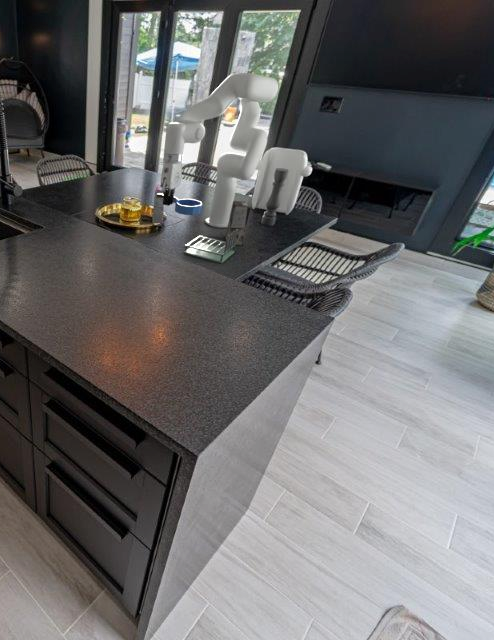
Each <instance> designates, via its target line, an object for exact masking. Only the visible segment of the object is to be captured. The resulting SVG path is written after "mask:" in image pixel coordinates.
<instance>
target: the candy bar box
mask: <svg viewBox="0 0 494 640" xmlns="http://www.w3.org/2000/svg"><path fill="white" fill-rule="evenodd" d="M155 186H156V187H155V189H154V196H153V197H154V198H153V208H152V219H151V224H152V223H154V222H155V223H160V224H158V225H156V226H155V227H162V225H163V221H164V212H165V205H163V198H160V197H156V194H157V193H160V194H163V192H162V191H161V190H162V188H161V184H156V185H155Z"/></svg>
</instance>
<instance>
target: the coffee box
mask: <svg viewBox="0 0 494 640" xmlns="http://www.w3.org/2000/svg"><path fill="white" fill-rule="evenodd" d="M251 209H252V206H251V205H250V202H248V201H243V200H234V201H233V204H232V208H231V213H230V218H229V222H228V227H226V233H225V241H226V240H227V236H228V235H229V237H230V233H232V234H233V231H235V230H236V229H238V230H237V234H236V239H235V243H234V244H236V246H237V245H238V246H242V245H243V240H244V237H245V234H246V232H245V231H246V229H247V225H248V221H249V218H250V217H249V216H250V213H251ZM234 235H235V234H234ZM231 238H232V237H231ZM233 239H234V238H233ZM228 242H229V240H228ZM230 243H231V241H230ZM232 244H233V242H232Z"/></svg>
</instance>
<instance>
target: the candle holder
mask: <svg viewBox="0 0 494 640" xmlns="http://www.w3.org/2000/svg"><path fill="white" fill-rule="evenodd" d="M288 172H289V170H288V169H283V168H276V170H275V174H274V180H275V182H273V183H272V184H273V189H272V193H271V195H270V197H269V199H268V200H267V202H266V207H267V210H266V211H264V212H263V215H262V217H261V222H260V224H262V226H263V225H264V226H268V227H270V226H272V227H273V226H275V224H276V220H277V217H276V216H277V211H276V209H277V208H278V207H279V206H280V193H281V189H282V187H283V186H284V183H283V182H284V181H285V180H286V178H287V175H288Z"/></svg>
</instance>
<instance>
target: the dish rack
mask: <svg viewBox="0 0 494 640" xmlns="http://www.w3.org/2000/svg"><path fill="white" fill-rule="evenodd" d="M237 230H238V229H236V230H235V231H233V234H232V233H230V237H229V235H228V236H227V240H226V239H225V241H223V240H219V239H215V238H211V237H207V236H203V235H198V236H197V237H195V238H193V239H192V240H191V241H189V242H188V243H187V244H185V245H184V247H185V249H184V251H183V254H185V255H189V256H193V257H196V258H200V259H202V260H203V259H204V260H208V261H210V262H215V263H218V264H223V263H224V262H225V261H226V260H227V259H228V258H230V257H231V256H232V255H233V254H234V253H235V248H236V246H237V245H236V244H234V243H235V239H236V234H237ZM234 234H235V235H234ZM231 237H232V238H231ZM233 238H234V239H233ZM205 240H207V241H205ZM228 240H229V242H228ZM196 241H197V242H196ZM203 241H205V242H203ZM230 241H231V243H230ZM195 242H196V243H195ZM209 242H212V243H210V244H208V243H209ZM232 242H233V244H232ZM193 243H195V244H193ZM216 243H218V244H217V245H215V244H216ZM192 244H193V245H192ZM222 244H223V246H222V247H220V246H221V245H222Z"/></svg>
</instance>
